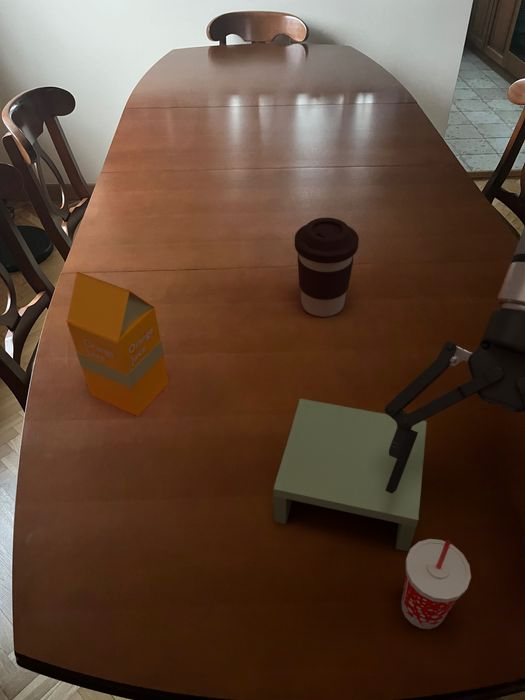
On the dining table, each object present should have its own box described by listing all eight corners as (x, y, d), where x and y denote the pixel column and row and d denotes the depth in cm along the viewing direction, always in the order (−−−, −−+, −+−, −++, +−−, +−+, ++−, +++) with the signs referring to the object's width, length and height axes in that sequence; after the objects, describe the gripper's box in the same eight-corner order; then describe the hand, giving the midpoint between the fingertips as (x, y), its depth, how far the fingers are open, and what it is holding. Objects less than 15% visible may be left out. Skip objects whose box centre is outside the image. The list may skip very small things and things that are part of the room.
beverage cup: (460, 634, 61) (493, 571, 51) (401, 639, 61) (424, 576, 51) (442, 577, 66) (470, 509, 56) (388, 581, 65) (406, 514, 56)
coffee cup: (342, 283, 105) (349, 208, 94) (359, 319, 98) (368, 242, 87) (288, 290, 104) (288, 215, 93) (300, 327, 97) (302, 250, 86)
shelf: (408, 552, 68) (418, 520, 63) (273, 521, 71) (273, 488, 66) (417, 455, 78) (426, 421, 73) (298, 432, 81) (299, 398, 76)
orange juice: (137, 417, 83) (109, 308, 70) (89, 395, 87) (53, 287, 73) (170, 382, 88) (149, 273, 75) (123, 362, 92) (95, 255, 78)
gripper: (667, 363, 56) (585, 568, 57) (415, 286, 65) (349, 464, 67) (691, 357, 49) (597, 591, 50) (405, 273, 59) (331, 471, 60)
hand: (455, 519), depth 58 cm, fingers open, 13 cm apart
